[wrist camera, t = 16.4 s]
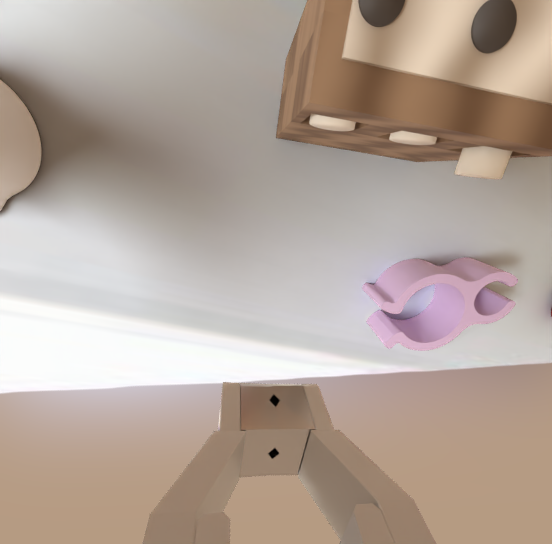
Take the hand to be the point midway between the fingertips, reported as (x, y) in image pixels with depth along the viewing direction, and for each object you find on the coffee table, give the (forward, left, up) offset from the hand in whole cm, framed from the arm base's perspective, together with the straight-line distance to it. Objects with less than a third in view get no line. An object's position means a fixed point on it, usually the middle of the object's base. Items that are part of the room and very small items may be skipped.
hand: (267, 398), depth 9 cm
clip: (+30, -8, -33) cm, 45 cm away
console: (+12, +15, -32) cm, 38 cm away
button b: (+19, +11, -19) cm, 29 cm away
